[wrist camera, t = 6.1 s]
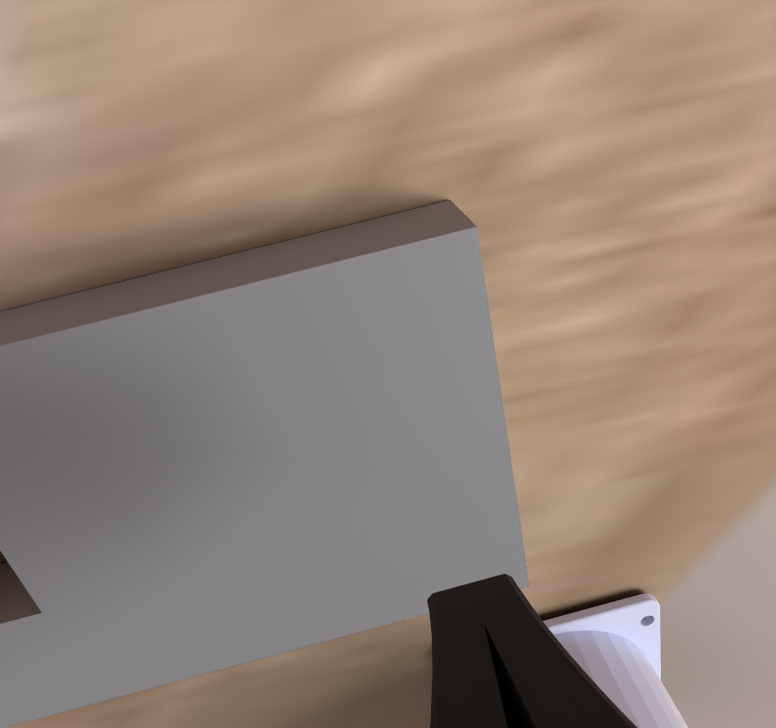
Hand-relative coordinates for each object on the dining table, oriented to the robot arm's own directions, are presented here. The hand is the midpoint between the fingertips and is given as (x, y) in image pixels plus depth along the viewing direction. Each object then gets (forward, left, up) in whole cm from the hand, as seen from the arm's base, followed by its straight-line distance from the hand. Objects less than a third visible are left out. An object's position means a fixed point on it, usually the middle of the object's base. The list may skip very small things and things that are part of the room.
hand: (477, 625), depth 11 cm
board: (-1, +9, -9) cm, 12 cm away
